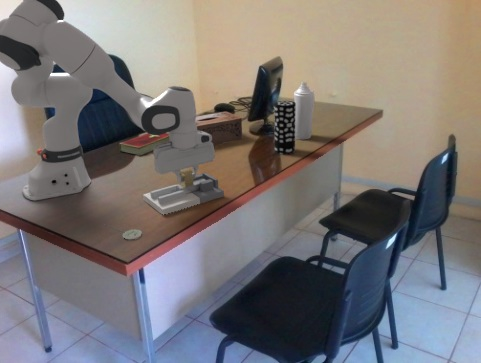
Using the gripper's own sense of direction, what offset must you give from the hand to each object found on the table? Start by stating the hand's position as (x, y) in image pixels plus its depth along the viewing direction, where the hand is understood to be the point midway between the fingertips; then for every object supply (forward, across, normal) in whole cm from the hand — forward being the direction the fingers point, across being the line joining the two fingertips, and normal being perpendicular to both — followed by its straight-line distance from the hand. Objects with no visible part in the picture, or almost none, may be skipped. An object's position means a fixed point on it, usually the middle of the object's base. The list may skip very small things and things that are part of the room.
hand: (186, 179), depth 150 cm
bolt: (+4, +2, 0) cm, 4 cm away
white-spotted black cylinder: (+6, +54, +14) cm, 56 cm away
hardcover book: (+7, +12, +58) cm, 59 cm away
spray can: (+6, +71, +24) cm, 75 cm away
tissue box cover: (+6, +37, +47) cm, 61 cm away
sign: (+7, -26, -8) cm, 28 cm away
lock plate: (+6, -2, 0) cm, 6 cm away
